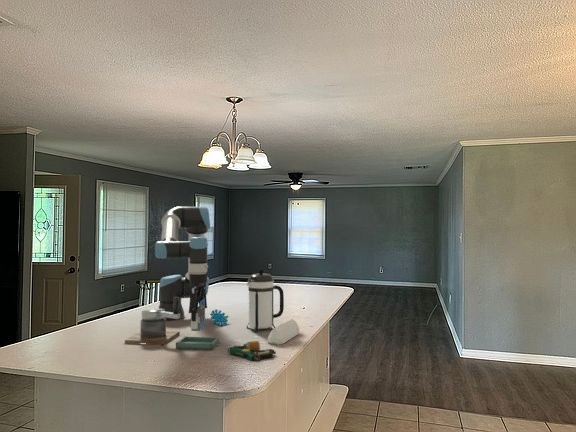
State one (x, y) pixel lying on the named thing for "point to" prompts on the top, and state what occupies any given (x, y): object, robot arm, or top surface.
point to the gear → (219, 317)
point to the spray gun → (249, 348)
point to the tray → (197, 343)
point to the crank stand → (153, 333)
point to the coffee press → (262, 301)
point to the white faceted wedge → (283, 332)
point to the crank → (161, 313)
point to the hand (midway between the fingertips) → (198, 326)
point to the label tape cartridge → (201, 316)
